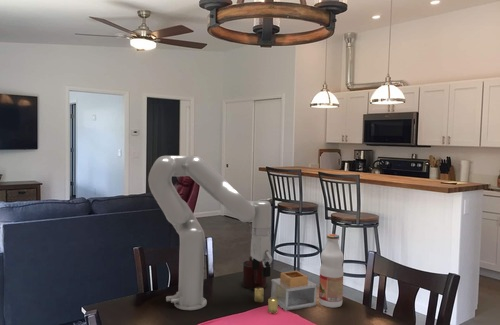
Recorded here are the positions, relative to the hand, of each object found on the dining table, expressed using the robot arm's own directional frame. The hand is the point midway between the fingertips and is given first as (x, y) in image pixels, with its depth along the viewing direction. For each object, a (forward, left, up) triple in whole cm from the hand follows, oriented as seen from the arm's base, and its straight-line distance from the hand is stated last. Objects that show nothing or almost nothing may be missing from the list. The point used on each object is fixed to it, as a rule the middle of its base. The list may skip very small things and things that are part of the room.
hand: (261, 273), depth 163 cm
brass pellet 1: (-1, 0, -11) cm, 11 cm away
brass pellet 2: (-1, -12, -11) cm, 16 cm away
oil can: (+6, +21, -12) cm, 25 cm away
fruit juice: (+25, -13, -12) cm, 31 cm away
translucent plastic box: (+11, -7, -11) cm, 17 cm away
